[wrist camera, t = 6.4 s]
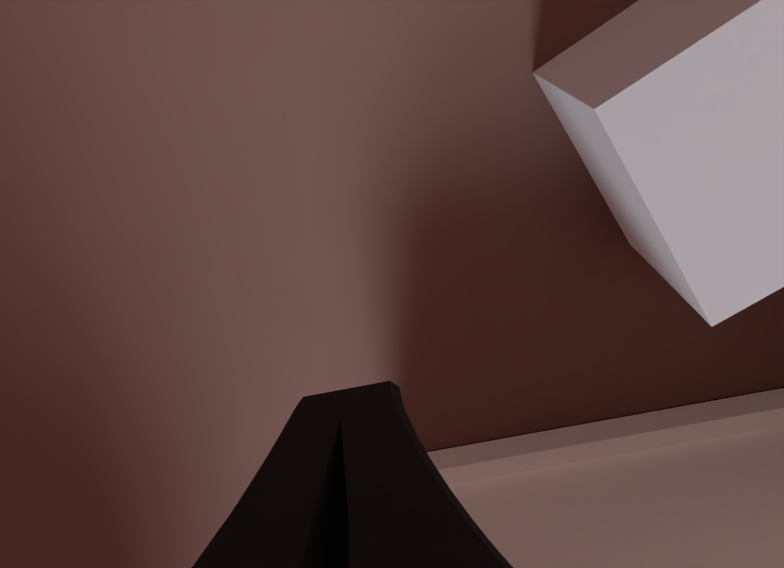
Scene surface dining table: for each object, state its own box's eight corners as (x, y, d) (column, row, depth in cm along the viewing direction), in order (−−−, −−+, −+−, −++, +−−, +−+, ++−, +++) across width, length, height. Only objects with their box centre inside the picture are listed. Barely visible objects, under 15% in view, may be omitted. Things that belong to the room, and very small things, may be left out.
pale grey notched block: (898, 77, 16) (1089, 115, 12) (626, 241, 17) (711, 326, 13) (829, -133, 14) (1028, -175, 10) (530, 71, 15) (594, 109, 11)
